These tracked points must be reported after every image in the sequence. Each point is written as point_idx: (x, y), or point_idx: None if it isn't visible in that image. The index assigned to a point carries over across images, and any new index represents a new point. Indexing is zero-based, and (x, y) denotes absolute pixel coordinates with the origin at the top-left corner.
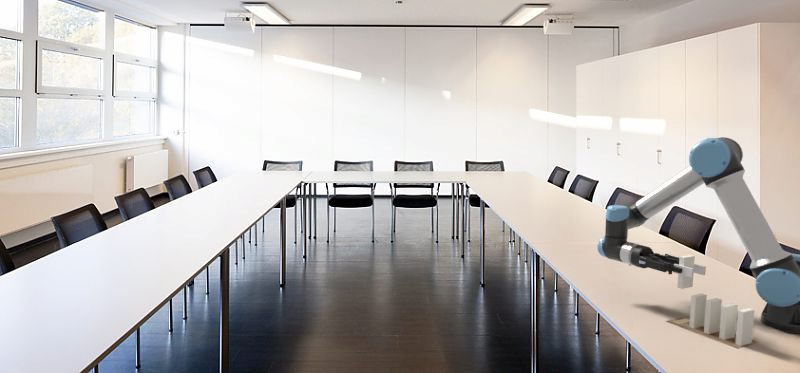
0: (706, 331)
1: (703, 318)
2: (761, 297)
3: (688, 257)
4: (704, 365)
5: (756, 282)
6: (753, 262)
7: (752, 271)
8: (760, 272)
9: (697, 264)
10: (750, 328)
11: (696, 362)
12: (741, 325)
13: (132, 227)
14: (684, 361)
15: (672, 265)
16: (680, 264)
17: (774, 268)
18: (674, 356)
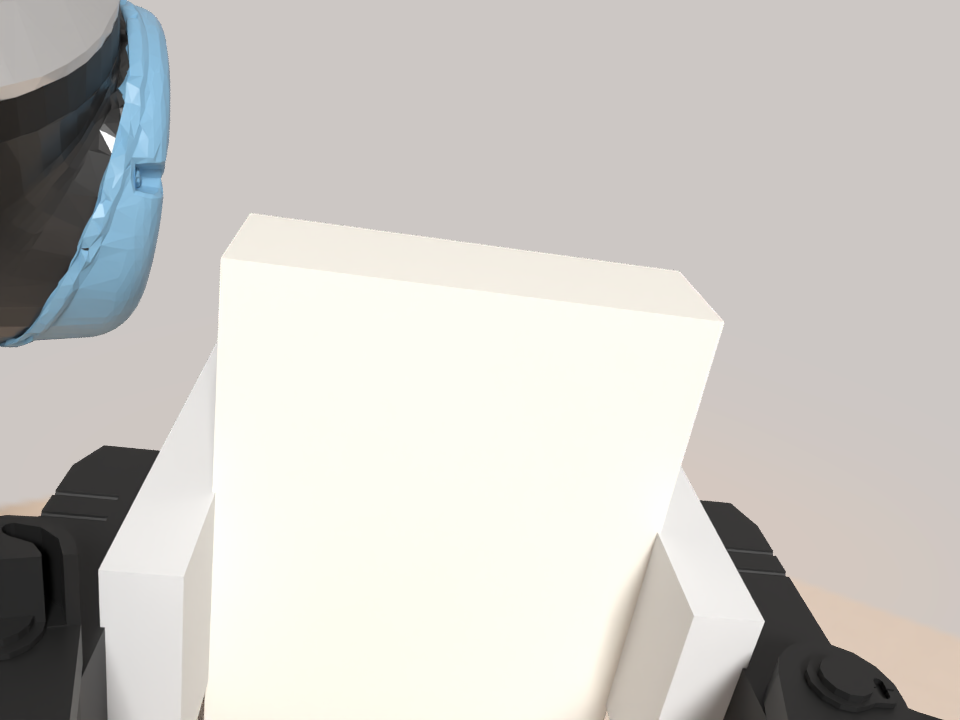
0: None
1: None
2: (130, 312)
3: (510, 257)
4: (805, 590)
5: (157, 197)
6: (10, 10)
7: (8, 128)
8: (103, 93)
9: (205, 386)
10: None
11: (829, 621)
12: None
13: None
14: (895, 653)
15: (791, 663)
16: (652, 492)
17: (134, 8)
18: (928, 713)
